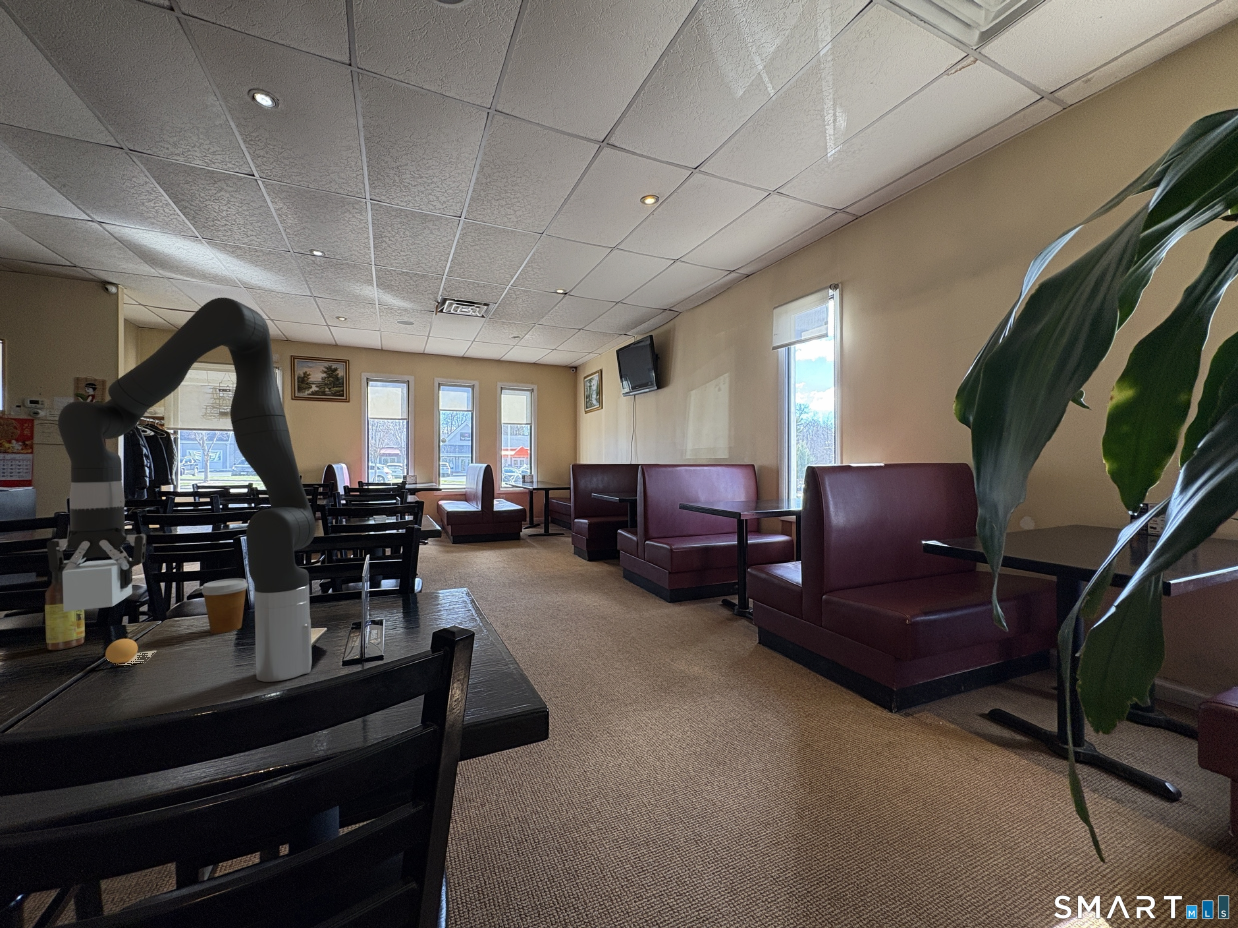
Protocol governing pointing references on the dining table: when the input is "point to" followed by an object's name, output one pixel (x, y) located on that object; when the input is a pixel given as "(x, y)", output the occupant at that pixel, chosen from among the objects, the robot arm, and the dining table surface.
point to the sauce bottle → (61, 618)
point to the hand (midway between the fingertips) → (99, 589)
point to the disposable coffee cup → (225, 604)
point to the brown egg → (121, 651)
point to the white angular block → (93, 586)
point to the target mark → (137, 658)
